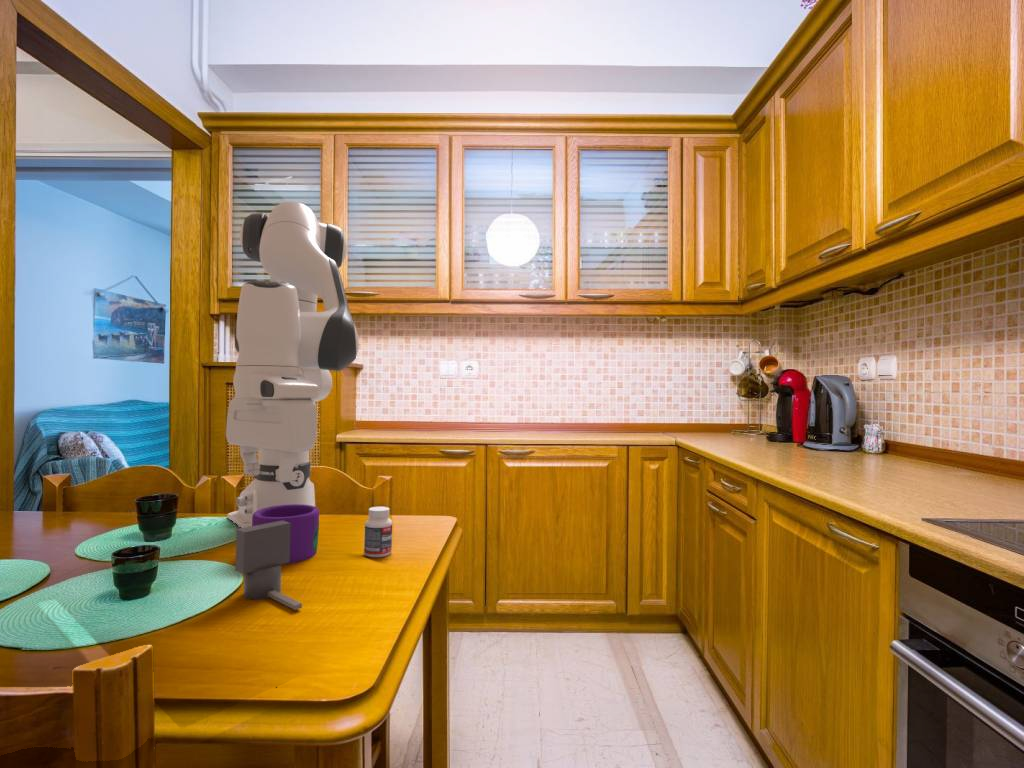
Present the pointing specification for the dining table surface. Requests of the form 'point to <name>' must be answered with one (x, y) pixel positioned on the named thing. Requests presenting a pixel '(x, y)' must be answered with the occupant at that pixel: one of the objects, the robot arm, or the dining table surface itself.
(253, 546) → the grey block with rod
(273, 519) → the mug
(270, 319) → the robot arm
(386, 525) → the pill bottle
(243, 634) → the dining table surface
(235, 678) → the dining table surface
